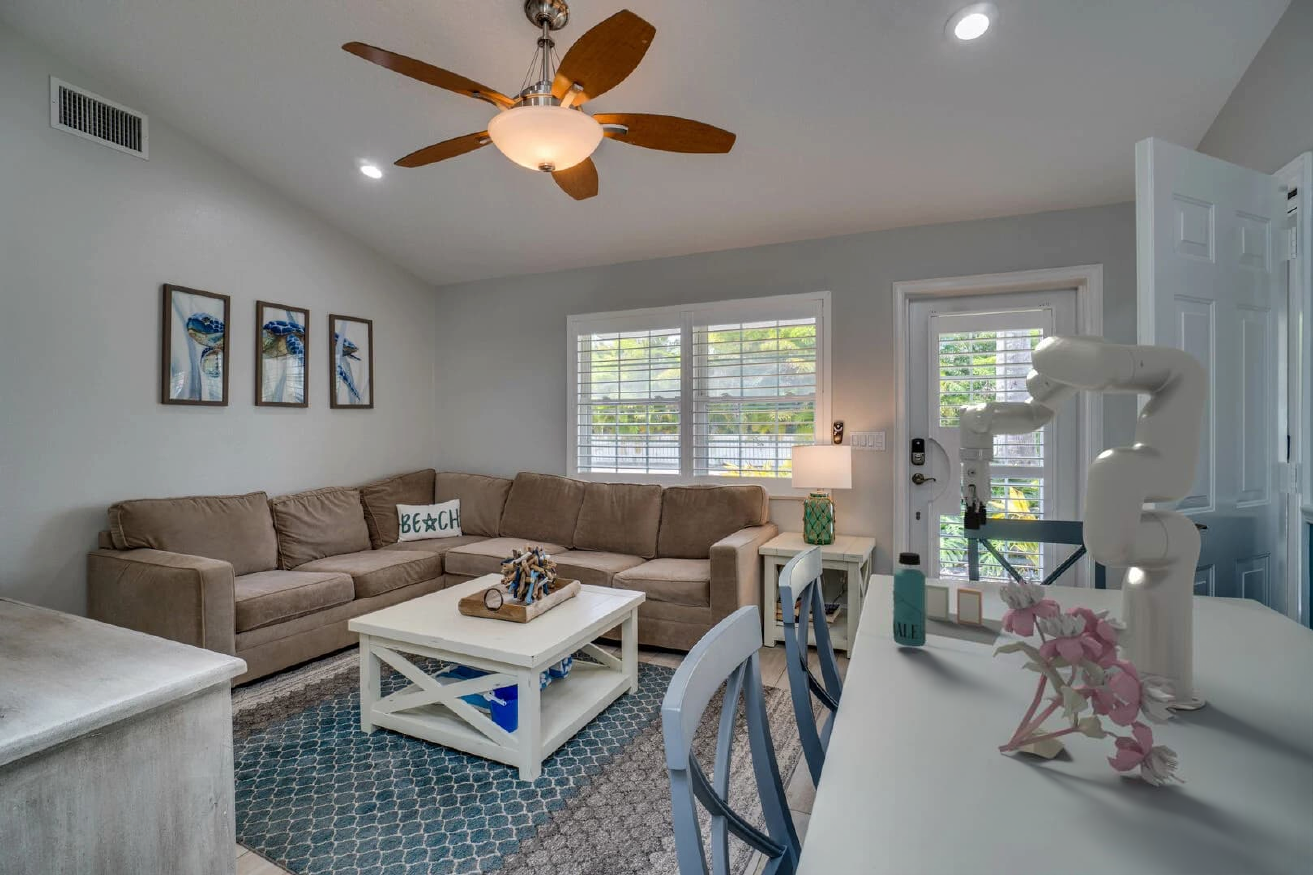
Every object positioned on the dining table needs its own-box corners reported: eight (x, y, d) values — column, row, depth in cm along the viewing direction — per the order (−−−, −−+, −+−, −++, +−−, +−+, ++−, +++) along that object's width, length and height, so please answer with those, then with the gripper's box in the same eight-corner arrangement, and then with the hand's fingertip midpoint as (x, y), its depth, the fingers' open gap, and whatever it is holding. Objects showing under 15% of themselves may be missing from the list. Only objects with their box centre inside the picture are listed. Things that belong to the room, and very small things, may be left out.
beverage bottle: (920, 644, 132) (920, 550, 132) (931, 655, 125) (931, 556, 125) (888, 643, 132) (888, 549, 132) (897, 654, 126) (897, 555, 126)
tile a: (981, 627, 141) (981, 592, 141) (957, 623, 144) (957, 588, 144) (982, 625, 143) (982, 590, 143) (958, 621, 146) (958, 587, 146)
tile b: (947, 621, 145) (947, 587, 145) (925, 618, 148) (925, 584, 148) (949, 619, 147) (949, 586, 147) (926, 616, 150) (926, 583, 150)
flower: (1071, 818, 69) (1165, 616, 70) (930, 712, 91) (1002, 558, 91) (1180, 860, 75) (1265, 673, 76) (1023, 750, 96) (1090, 606, 97)
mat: (993, 647, 129) (993, 644, 129) (894, 630, 141) (894, 627, 141) (1005, 624, 146) (1005, 621, 146) (915, 610, 157) (915, 607, 157)
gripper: (987, 457, 140) (987, 533, 140) (998, 454, 154) (998, 524, 154) (951, 456, 144) (951, 530, 144) (965, 454, 158) (965, 521, 158)
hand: (975, 526), depth 149 cm, fingers open, 9 cm apart
